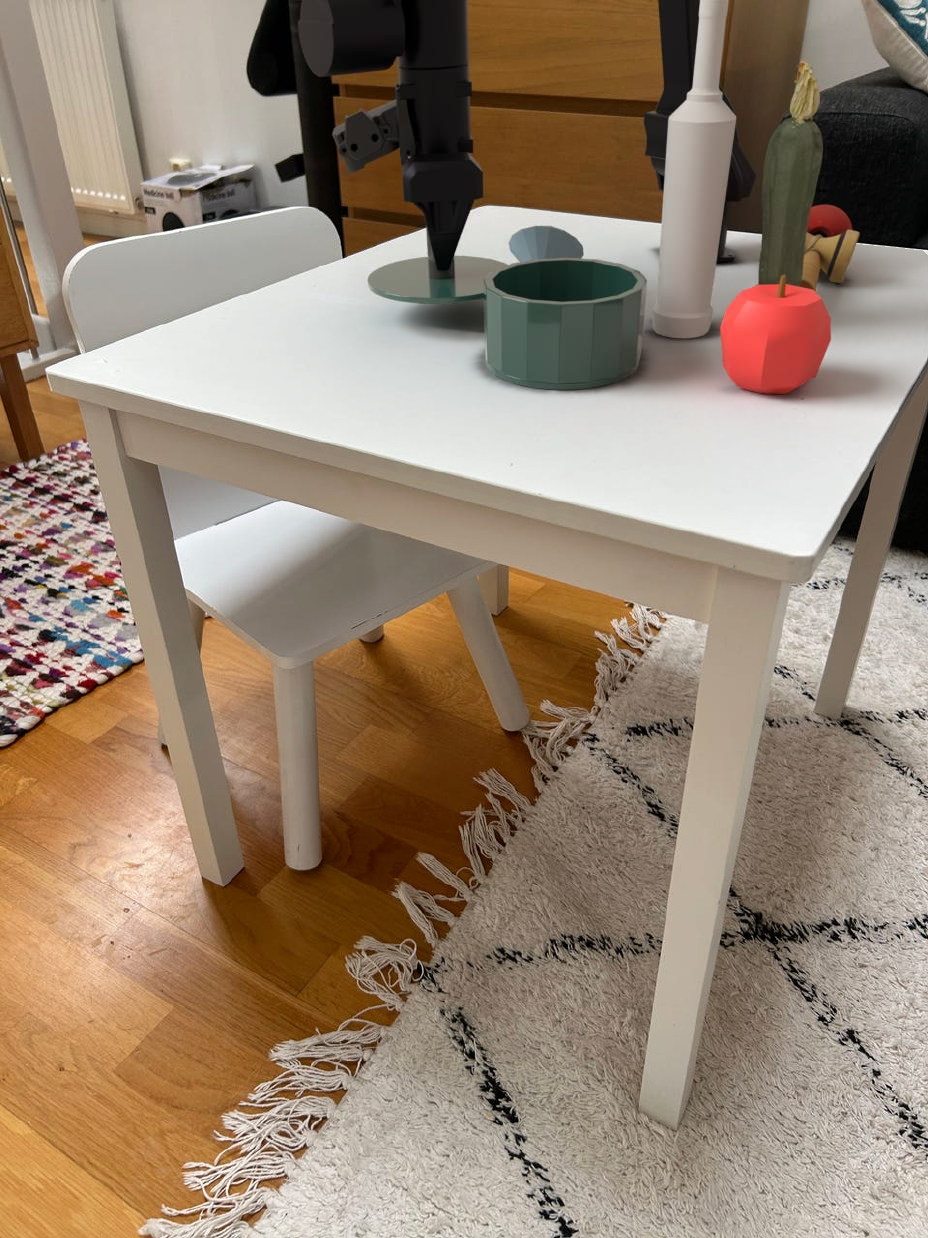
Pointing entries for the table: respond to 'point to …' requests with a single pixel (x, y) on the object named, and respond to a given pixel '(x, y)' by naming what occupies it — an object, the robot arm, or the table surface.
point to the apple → (774, 337)
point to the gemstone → (544, 244)
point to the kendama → (827, 245)
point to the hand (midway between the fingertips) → (442, 265)
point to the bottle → (695, 189)
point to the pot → (564, 322)
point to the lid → (433, 279)
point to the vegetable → (790, 185)
